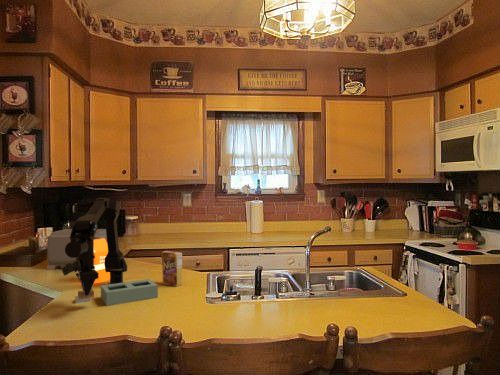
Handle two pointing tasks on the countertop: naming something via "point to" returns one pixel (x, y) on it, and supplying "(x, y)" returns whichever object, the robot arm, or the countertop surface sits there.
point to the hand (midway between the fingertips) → (85, 293)
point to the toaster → (63, 247)
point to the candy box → (172, 268)
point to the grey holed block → (128, 292)
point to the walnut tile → (82, 295)
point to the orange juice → (100, 259)
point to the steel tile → (81, 299)
